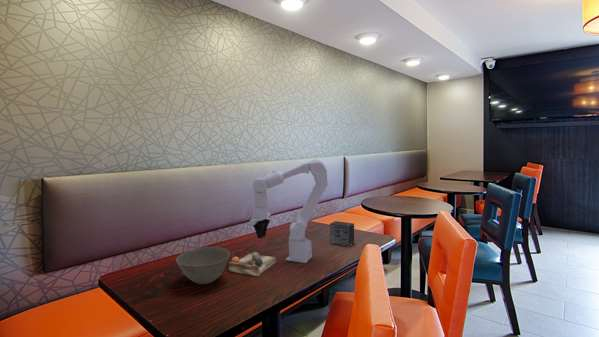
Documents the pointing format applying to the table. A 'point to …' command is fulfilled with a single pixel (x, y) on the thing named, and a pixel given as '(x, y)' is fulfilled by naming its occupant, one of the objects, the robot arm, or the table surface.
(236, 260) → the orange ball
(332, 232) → the small box
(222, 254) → the bowl
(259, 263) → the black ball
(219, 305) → the table surface
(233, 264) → the bearing plate
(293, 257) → the robot arm
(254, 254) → the steel ball
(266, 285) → the table surface
